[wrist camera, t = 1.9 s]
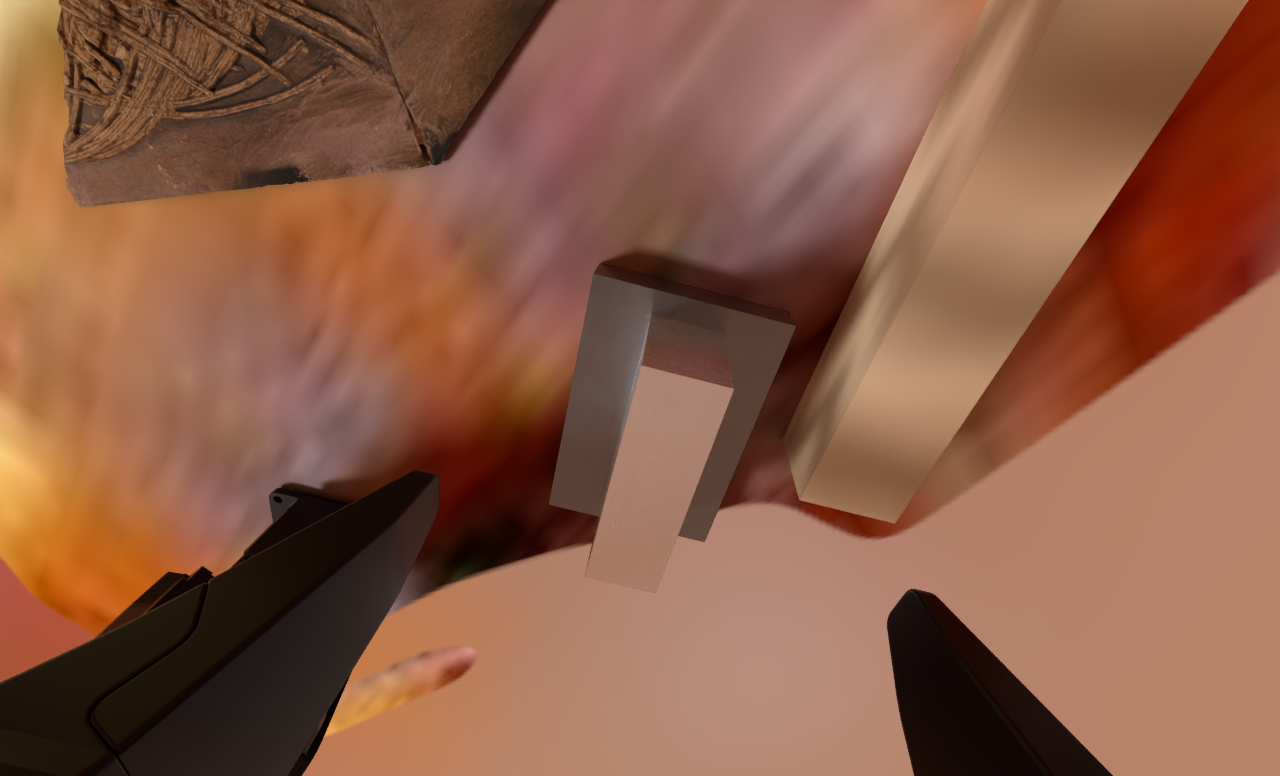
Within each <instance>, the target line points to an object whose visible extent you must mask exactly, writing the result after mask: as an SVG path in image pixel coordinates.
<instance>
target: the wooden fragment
mask: <svg viewBox="0 0 1280 776" xmlns="http://www.w3.org/2000/svg"><path fill="white" fill-rule="evenodd" d="M545 1H546V0H59V5H60V6H61V7H62V9H61V14H60V18H59V23H58V27H57V32H58V36H59V42H60V45H61V46H62V48H63V49H64V50H65V69H64V77H63V82H64V83H65V91H64V99H65V100H67V104H68V106H69V127H68V130H67V132H66V134H65V136H64V142H63V150H64V162H65V169H66V173H67V176H68V177H67V179H66V182H67V188H68V189H69V191H70V192H71V194H72V196H73V198H74V200H75V201H76V203H77V204H78V205H79V207H86V206H96V205H105V204H111V203H119V202H121V203H122V202H131V201H141V200H148V199H157V198H163V197H175V196H181V195H193V194H200V193H208V192H217V191H227V190H238V189H248V188H255V187H263V186H266V185H282V184H286V183H288V184H293V183H296V182H310V181H317V180H327V179H336V178H341V177H348V176H358V175H361V174H364V173H367V172H368V173H373V172H374V171H376V172H379V171H380V170H382V172H389V171H398V170H406V169H414V168H420V167H424V166H428V165H438V164H440V163H441V162H442V160H443V159H444V156H445V154H446V153H447V152H448V149H449V146H450V144H451V141H450V140H451V139H452V138H453V137H454V136H455V135H456V134H457V133H458V131H459V130H460V128H461V127H462V125H463V124H464V122H465V120H466V119H467V117H468V116H469V114H470V112H471V110H472V109H474V107H475V105H476V103H477V102H478V100H479V99H480V97H481V96H482V95H483V93H484V92H485V91H486V89H487V88H488V86H489V85H490V83H491V82H492V80H493V78H494V77H495V75H496V72H497V70H498V69H499V68H501V66H502V65H503V63H504V61H505V59H506V58H507V56H508V55H509V54H510V52H511V51H512V50H513V48H514V47H515V45H516V43H517V42H518V40H519V39H520V37H521V36H522V34H523V33H524V31H525V29H526V28H527V27H528V26H529V24H530V23H531V21H532V20H533V18H534V17H535V15H536V13H537V12H538V10H539V9H540V8H541V6H542V5H543V4H544V2H545ZM420 144H424V146H425V147H426V149H427V152H428V156H425V157H428V158H430V161H431V164H429V163H426V162H425V160H424V159H423V158H424V156H423V155H422V150H421V148H420V147H419V145H420Z"/></svg>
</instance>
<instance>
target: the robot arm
mask: <svg viewBox="0 0 1280 776" xmlns="http://www.w3.org/2000/svg"><path fill="white" fill-rule="evenodd" d="M269 501H270V507H271V512H272V518H273V523H272V524H271V525H270V526H269V527H268V528H267V529H266V530H265V531H264V532H263V533H262V534H261V535H260V536H259V537H258V538H257V539H256V540H255V541H254V542H253V543H252V544H251V545H250V546H249V547H248V548H247V549H246V550H245V551H244V555H243V556H242V557H241V558H240V559H239V560H238V561H237V562H236V563H235V564H234V565H233V566H232V567H231V568H230V569H229V570H227V571H225V572H223V573H221V574H219V575H217V576H216V577H214V576H212V575H211V574H212V572H211V571H209V570H208V569H206V568H205V567H203V566H202V567H201V568H199V569H198V570H197V571H195V572H194V573H193V574H191V575H190V576H189V575H187V574H186V573H185V574H179V573H173V572H168V573H166V574H165V575H164V576H163V577H161V578H160V579H159V580H158V581H157V582H156V583H155V584H153V585H152V586H151V587H150V588H149V589H148V590H147V591H146V592H144V593H143V594H142V595H141V596H140V597H139V598H138V599H137V600H135V601H134V602H133V603H132V604H131V605H130V606H129V607H128V608H126V609H125V610H124V611H123V612H122V613H121V614H120V615H119V616H118V617H117V618H115V619H114V620H113V621H112V622H111V623H110V624H109V625H108V626H107V627H106V628H105V629H104V630H103V631H101V632H100V633H99V634H98V635H97V636H96V637H95V638H94V639H92V640H90V641H88V642H86V643H84V644H82V645H80V646H78V647H76V648H74V649H71V650H69V651H67V652H65V653H63V654H61V655H58V656H56V657H54V658H52V659H50V660H48V661H45V662H43V663H41V664H39V665H37V666H35V667H33V668H30V669H28V670H26V671H24V672H22V673H20V674H17V675H15V676H13V677H11V678H9V679H6V680H4V681H2V682H0V776H302V774H303V773H304V771H305V770H306V768H307V767H308V766H309V764H310V762H311V761H312V759H313V757H314V756H315V754H316V752H317V750H318V748H319V746H320V744H321V742H322V740H323V737H324V735H325V733H326V730H327V728H328V726H329V723H330V721H331V719H332V716H333V714H334V712H335V709H336V707H337V705H338V702H339V700H340V698H341V695H342V693H343V691H344V688H345V686H346V684H347V681H348V679H349V676H350V674H351V672H352V670H353V668H354V667H355V665H356V663H357V662H358V660H359V659H360V657H361V655H362V654H363V652H364V650H365V649H366V647H367V645H368V644H369V642H370V641H371V639H372V637H373V636H374V634H375V633H376V631H377V629H378V628H379V626H380V624H381V623H382V621H383V620H384V618H385V616H386V615H387V613H388V612H389V610H390V608H391V607H392V605H393V603H394V602H395V600H396V598H397V596H398V595H399V593H400V591H401V589H402V587H403V585H404V583H405V581H406V579H407V577H408V575H409V572H410V570H411V568H412V566H413V564H414V562H415V560H416V558H417V556H418V554H419V551H420V549H421V547H422V545H423V543H424V541H425V539H426V537H427V535H428V532H429V530H430V528H431V526H432V524H433V522H434V520H435V518H436V515H437V512H438V507H439V476H438V475H437V474H436V473H433V472H429V471H425V470H421V469H415V470H412V471H410V472H408V473H407V474H405V475H403V476H401V477H399V478H397V479H395V480H394V481H392V482H390V483H388V484H386V485H384V486H382V487H381V488H379V489H377V490H375V491H373V492H371V493H369V494H368V495H366V496H364V497H362V498H360V499H358V500H357V501H355V502H353V503H351V504H346V503H342V502H338V501H334V500H329V499H325V498H321V497H317V496H313V495H308V494H304V493H300V492H296V491H292V490H287V489H283V488H277V489H275V490H274V491H273V492H272V493H271V494H270V495H269ZM887 630H888V637H889V645H890V652H891V659H892V666H893V673H894V680H895V688H896V695H897V701H898V707H899V712H900V718H901V722H902V727H903V731H904V735H905V739H906V743H907V748H908V752H909V756H910V760H911V765H912V769H913V773H914V776H1113V775H1112V774H1111V773H1110V772H1109V771H1108V770H1107V769H1106V768H1105V767H1104V766H1103V765H1102V764H1101V763H1100V762H1099V761H1098V760H1097V759H1096V758H1095V757H1094V756H1093V755H1092V754H1091V753H1090V752H1089V751H1088V750H1087V749H1086V748H1085V747H1084V746H1083V745H1082V744H1081V743H1080V742H1079V741H1078V740H1077V739H1076V738H1075V737H1074V736H1073V735H1072V733H1071V732H1070V731H1069V730H1068V729H1067V728H1066V727H1065V726H1063V724H1062V723H1061V722H1060V721H1059V720H1058V719H1057V718H1056V717H1055V716H1054V715H1053V714H1052V713H1051V712H1050V711H1049V710H1048V709H1047V708H1046V707H1045V706H1044V705H1043V704H1042V703H1041V702H1040V701H1039V700H1038V699H1037V698H1036V697H1035V696H1034V695H1033V694H1032V693H1031V692H1030V691H1029V690H1028V689H1027V688H1026V687H1025V686H1024V685H1023V684H1022V683H1021V682H1020V681H1019V680H1018V679H1017V678H1016V677H1015V675H1014V674H1012V673H1011V671H1010V670H1008V668H1006V666H1005V665H1004V664H1003V663H1002V662H1001V661H1000V660H999V659H998V658H997V657H996V656H995V655H994V654H993V653H992V652H991V651H990V650H989V649H988V648H987V647H986V646H985V645H984V644H983V643H982V642H981V641H980V640H979V639H978V638H977V637H976V636H975V635H974V634H973V633H972V632H971V631H970V630H969V629H968V628H967V627H966V626H965V625H964V624H963V623H962V622H961V621H960V620H959V619H958V618H957V616H956V615H954V613H952V612H951V610H950V609H949V608H948V607H947V606H946V605H945V604H944V603H943V602H942V601H941V600H940V599H939V598H938V597H936V595H934V594H932V593H929V592H925V591H921V590H917V589H910V590H908V591H907V592H906V593H905V594H904V596H903V597H902V598H901V599H900V601H899V602H898V603H897V605H896V606H895V607H894V608H893V610H892V611H891V612H890V614H889V617H888V621H887Z"/></svg>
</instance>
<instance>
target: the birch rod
mask: <svg viewBox="0 0 1280 776" xmlns="http://www.w3.org/2000/svg"><path fill="white" fill-rule="evenodd" d="M1247 2H1248V0H987V2H986V4H985V6H984V8H983V10H982V13H981V15H980V17H979V19H978V21H977V23H976V25H975V28H974V30H973V32H972V34H971V36H970V38H969V40H968V43H967V45H966V47H965V49H964V51H963V53H962V55H961V58H960V60H959V62H958V64H957V66H956V68H955V70H954V73H953V75H952V77H951V79H950V81H949V83H948V85H947V88H946V90H945V92H944V94H943V96H942V98H941V100H940V103H939V105H938V107H937V109H936V111H935V113H934V115H933V118H932V120H931V122H930V124H929V126H928V128H927V130H926V133H925V135H924V137H923V139H922V141H921V143H920V145H919V148H918V150H917V152H916V154H915V156H914V158H913V160H912V163H911V165H910V167H909V169H908V171H907V173H906V175H905V178H904V180H903V182H902V184H901V186H900V188H899V190H898V193H897V195H896V197H895V199H894V201H893V203H892V205H891V208H890V210H889V212H888V214H887V216H886V218H885V220H884V222H883V225H882V227H881V229H880V231H879V233H878V235H877V237H876V240H875V242H874V244H873V246H872V248H871V250H870V252H869V255H868V257H867V259H866V261H865V263H864V265H863V267H862V270H861V272H860V274H859V276H858V278H857V280H856V282H855V285H854V287H853V289H852V291H851V293H850V295H849V297H848V300H847V302H846V304H845V306H844V308H843V310H842V312H841V315H840V317H839V319H838V321H837V323H836V325H835V327H834V330H833V332H832V334H831V336H830V338H829V340H828V342H827V345H826V347H825V349H824V351H823V353H822V355H821V357H820V360H819V362H818V364H817V366H816V368H815V370H814V372H813V375H812V377H811V379H810V381H809V383H808V385H807V387H806V390H805V392H804V394H803V396H802V398H801V400H800V402H799V405H798V407H797V409H796V411H795V413H794V415H793V417H792V420H791V422H790V424H789V426H788V428H787V430H786V432H785V435H784V437H783V439H782V440H783V444H784V447H785V451H786V454H787V458H788V461H789V465H790V468H791V472H792V475H793V479H794V483H795V486H796V490H797V493H798V497H799V500H801V501H805V502H809V503H813V504H817V505H821V506H826V507H830V508H834V509H838V510H842V511H846V512H850V513H854V514H858V515H862V516H866V517H870V518H874V519H879V520H883V521H887V522H891V523H896V521H897V520H898V518H899V517H900V515H901V514H902V512H903V511H904V510H905V508H906V507H907V505H908V504H909V502H910V501H911V499H912V498H913V496H914V495H915V493H916V492H917V490H918V489H919V487H920V486H921V484H922V483H923V481H924V480H925V478H926V477H927V475H928V474H929V472H930V471H931V470H932V468H933V467H934V465H935V464H936V462H937V461H938V459H939V458H940V456H941V455H942V453H943V452H944V450H945V449H946V447H947V446H948V444H949V443H950V441H951V440H952V438H953V437H954V435H955V434H956V433H957V431H958V430H959V428H960V427H961V425H962V424H963V422H964V421H965V419H966V418H967V416H968V415H969V413H970V412H971V410H972V409H973V407H974V406H975V404H976V403H977V401H978V400H979V398H980V397H981V396H982V394H983V393H984V391H985V390H986V388H987V387H988V385H989V384H990V382H991V381H992V379H993V378H994V376H995V375H996V373H997V372H998V370H999V369H1000V367H1001V366H1002V364H1003V363H1004V361H1005V360H1006V359H1007V357H1008V356H1009V354H1010V353H1011V351H1012V350H1013V348H1014V347H1015V345H1016V344H1017V342H1018V341H1019V339H1020V338H1021V336H1022V335H1023V333H1024V332H1025V330H1026V329H1027V327H1028V326H1029V324H1030V323H1031V321H1032V320H1033V319H1034V317H1035V316H1036V314H1037V313H1038V311H1039V310H1040V308H1041V307H1042V305H1043V304H1044V302H1045V301H1046V299H1047V298H1048V296H1049V295H1050V293H1051V292H1052V290H1053V289H1054V287H1055V286H1056V284H1057V283H1058V282H1059V280H1060V279H1061V277H1062V276H1063V274H1064V273H1065V271H1066V270H1067V268H1068V267H1069V265H1070V264H1071V262H1072V261H1073V259H1074V258H1075V256H1076V255H1077V253H1078V252H1079V250H1080V249H1081V247H1082V246H1083V245H1084V243H1085V242H1086V240H1087V239H1088V237H1089V236H1090V234H1091V233H1092V231H1093V230H1094V228H1095V227H1096V225H1097V224H1098V222H1099V221H1100V219H1101V218H1102V216H1103V215H1104V213H1105V212H1106V210H1107V209H1108V208H1109V206H1110V205H1111V203H1112V202H1113V200H1114V199H1115V197H1116V196H1117V194H1118V193H1119V191H1120V190H1121V188H1122V187H1123V185H1124V184H1125V182H1126V181H1127V179H1128V178H1129V176H1130V175H1131V173H1132V172H1133V170H1134V169H1135V168H1136V166H1137V165H1138V163H1139V162H1140V160H1141V159H1142V157H1143V156H1144V154H1145V153H1146V151H1147V150H1148V148H1149V147H1150V145H1151V144H1152V142H1153V141H1154V139H1155V138H1156V136H1157V135H1158V133H1159V132H1160V131H1161V129H1162V128H1163V126H1164V125H1165V123H1166V122H1167V120H1168V119H1169V117H1170V116H1171V114H1172V113H1173V111H1174V110H1175V108H1176V107H1177V105H1178V104H1179V102H1180V101H1181V99H1182V98H1183V96H1184V95H1185V94H1186V92H1187V91H1188V89H1189V88H1190V86H1191V85H1192V83H1193V82H1194V80H1195V79H1196V77H1197V76H1198V74H1199V73H1200V71H1201V70H1202V68H1203V67H1204V65H1205V64H1206V62H1207V61H1208V59H1209V58H1210V57H1211V55H1212V54H1213V52H1214V51H1215V49H1216V48H1217V46H1218V45H1219V43H1220V42H1221V40H1222V39H1223V37H1224V36H1225V34H1226V33H1227V31H1228V30H1229V28H1230V27H1231V25H1232V24H1233V22H1234V21H1235V19H1236V18H1237V17H1238V15H1239V14H1240V12H1241V11H1242V9H1243V8H1244V6H1245V5H1246V3H1247Z"/></svg>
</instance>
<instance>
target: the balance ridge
mask: <svg viewBox="0 0 1280 776" xmlns="http://www.w3.org/2000/svg"><path fill="white" fill-rule="evenodd" d="M795 328H796V325H795V322H794V320H793V318H792V316H791V314H790V312H786V311H782V310H778V309H775V308H771V307H767V306H763V305H759V304H755V303H751V302H748V301H744V300H740V299H736V298H732V297H728V296H725V295H721V294H717V293H713V292H709V291H705V290H702V289H698V288H694V287H690V286H686V285H682V284H678V283H675V282H671V281H667V280H663V279H659V278H655V277H652V276H648V275H644V274H640V273H636V272H632V271H629V270H625V269H621V268H617V267H613V266H609V265H606V264H602V263H600V264H599V265H598V267H597V269H596V270H595V272H594V274H593V280H592V285H591V290H590V295H589V300H588V305H587V310H586V316H585V321H584V326H583V331H582V336H581V341H580V346H579V352H578V357H577V362H576V367H575V372H574V377H573V382H572V387H571V393H570V398H569V403H568V408H567V413H566V418H565V423H564V429H563V434H562V439H561V444H560V449H559V454H558V459H557V465H556V470H555V475H554V480H553V485H552V490H551V495H550V501H549V505H553V506H557V507H561V508H565V509H569V510H573V511H578V512H582V513H586V514H590V515H594V516H598V520H597V525H596V529H595V534H594V538H593V542H592V547H591V551H590V556H589V560H588V564H587V569H586V573H585V577H589V578H593V579H597V580H602V581H606V582H610V583H614V584H619V585H623V586H627V587H631V588H635V589H640V590H644V591H648V592H652V593H656V591H657V589H658V586H659V583H660V581H661V578H662V576H663V573H664V570H665V568H666V565H667V562H668V560H669V557H670V555H671V552H672V549H673V547H674V544H675V542H676V539H677V537H678V536H681V537H686V538H690V539H694V540H698V541H703V542H705V539H706V538H707V535H708V533H709V530H710V528H711V526H712V523H713V521H714V519H715V516H716V514H717V512H718V509H719V507H720V505H721V502H722V500H723V498H724V495H725V493H726V490H727V488H728V486H729V483H730V481H731V479H732V476H733V474H734V472H735V469H736V467H737V465H738V462H739V460H740V457H741V455H742V453H743V450H744V448H745V446H746V443H747V441H748V439H749V436H750V434H751V432H752V429H753V427H754V425H755V422H756V420H757V417H758V415H759V413H760V410H761V408H762V406H763V403H764V401H765V399H766V396H767V394H768V392H769V389H770V387H771V385H772V382H773V380H774V377H775V375H776V373H777V370H778V368H779V366H780V363H781V361H782V359H783V356H784V354H785V352H786V349H787V347H788V345H789V342H790V340H791V337H792V335H793V333H794V330H795Z"/></svg>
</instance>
